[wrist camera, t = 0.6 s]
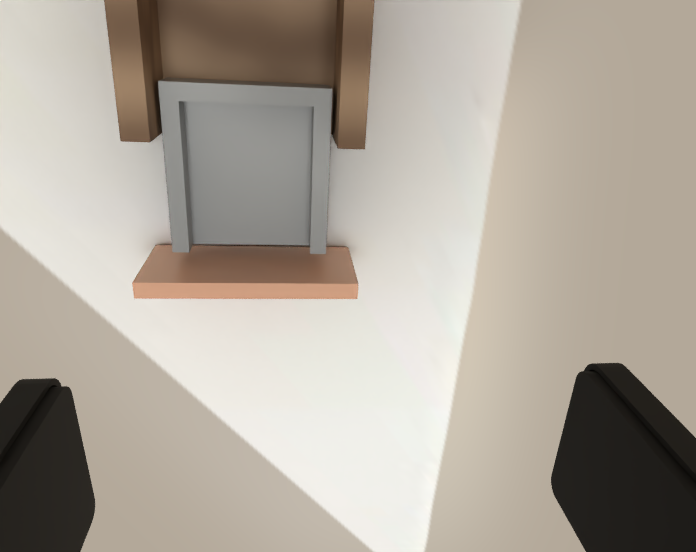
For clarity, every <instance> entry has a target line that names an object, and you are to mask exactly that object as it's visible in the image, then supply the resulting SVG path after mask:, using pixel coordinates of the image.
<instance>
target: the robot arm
mask: <svg viewBox="0 0 696 552" xmlns="http://www.w3.org/2000/svg"><path fill="white" fill-rule="evenodd" d="M551 485H552V489H553V493H554V495H555V498H556V499H557V501H558V503H559V505H560V506H561V508H562V510H563V511H564V513H565V515H566V517H567V519H568V521H569V522H570V524H571V526H572V528H573V529H574V531H575V533H576V535H577V537H578V538H579V540H580V542H581V544H582V545H583V547H584V549H585V551H586V552H696V438H695V437H694V436H693V435H692V434H691V433H690V432H689V431H688V430H687V429H686V428H685V427H684V426H683V424H682V423H680V422H679V420H677V418H676V417H675V416H674V415H672V413H671V412H670V411H669V410H668V409H667V408H666V407H665V406H664V405H663V404H662V403H661V402H660V401H659V400H658V399H657V398H656V397H655V396H654V395H653V394H652V393H651V392H650V391H649V390H648V389H647V388H646V387H645V386H644V385H643V384H642V383H641V382H640V381H639V380H638V379H637V378H636V377H635V376H634V375H633V374H632V373H631V372H630V371H629V370H628V369H627V368H626V367H625V366H624V365H623V364H620V363H601V364H600V363H599V364H589V365H588V366H587V367H586V368H585V370H584V371H583V372H580V373H579V374H578V375H577V377H576V381H575V384H574V389H573V393H572V397H571V400H570V404H569V408H568V412H567V416H566V420H565V424H564V428H563V432H562V436H561V440H560V444H559V448H558V452H557V456H556V460H555V464H554V468H553V472H552V477H551ZM94 511H95V498H94V493H93V488H92V484H91V479H90V475H89V470H88V465H87V461H86V456H85V451H84V447H83V442H82V437H81V433H80V428H79V424H78V419H77V414H76V410H75V405H74V400H73V396H72V392H71V390H70V388H69V387H61V384H60V382H59V381H58V380H57V379H55V378H54V379H22V380H19V381H18V382H17V383H16V384H15V385H14V386H13V387H12V389H11V390H10V391H9V393H8V394H7V395H6V397H5V398H4V399H3V401H2V402H1V403H0V552H80V551H81V548H82V546H83V543H84V541H85V538H86V536H87V533H88V531H89V528H90V526H91V523H92V520H93V516H94Z"/></svg>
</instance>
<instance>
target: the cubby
mask: <svg viewBox="0 0 696 552" xmlns="http://www.w3.org/2000/svg"><path fill="white" fill-rule="evenodd" d="M104 2H105V11H106V19H107V28H108V37H109V45H110V54H111V62H112V71H113V80H114V88H115V97H116V105H117V114H118V123H119V131H120V140H121V141H127V142H151V141H152V140H154V139H155V138H156V137H157V136H159V135H160V134H161V133H162V123H161V111H160V100H159V88H158V81H159V80H162V79H164V78H167V77H169V78H191V79H213V80H235V81H256V82H278V83H300V84H321V85H330V87H331V88H332V109H331V134H332V136H333V138H334V141H335V143H336V145H337V148H340V149H365V138H366V122H367V107H368V91H369V75H370V60H371V44H372V28H373V13H374V0H104Z"/></svg>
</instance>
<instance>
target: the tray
mask: <svg viewBox="0 0 696 552" xmlns="http://www.w3.org/2000/svg"><path fill="white" fill-rule="evenodd" d="M158 88H159V100H160V111H161V123H162V135H163V147H164V158H165V170H166V182H167V193H168V205H169V217H170V229H171V240H172V245H155V247H154V249H153V250H152V252H151V253H150V255H149V257H148V258H147V260H146V262H145V263H144V265H143V266H142V268H141V270H140V271H139V273H138V274H137V276H136V278H135V279H134V281H133V283H132V284H133V292H134V298H197V299H357V296H358V281H357V277H356V274H355V270H354V266H353V263H352V259H351V256H350V252H349V248H347V247H326V241H327V215H328V188H329V162H330V136H331V109H332V88H331V87H330V85H321V84H300V83H278V82H256V81H235V80H213V79H191V78H169V77H167V78H164V79H162V80H159V81H158ZM193 244H244V245H309V247H267V246H192V245H193Z"/></svg>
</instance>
